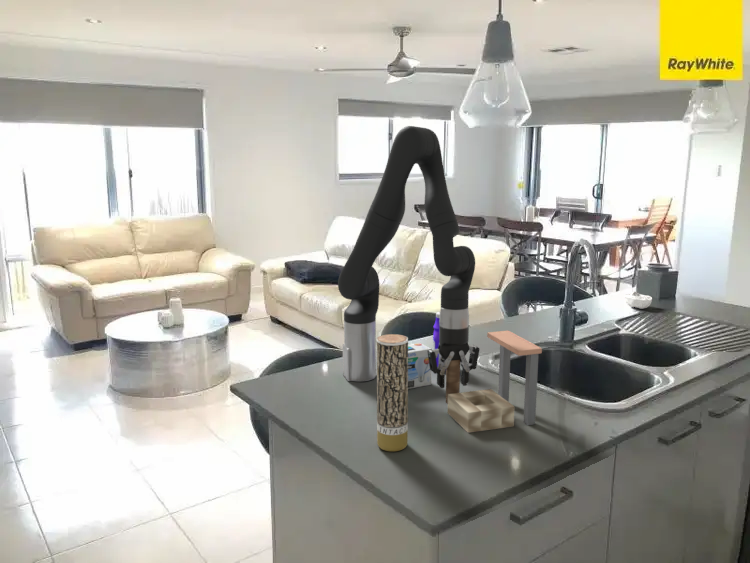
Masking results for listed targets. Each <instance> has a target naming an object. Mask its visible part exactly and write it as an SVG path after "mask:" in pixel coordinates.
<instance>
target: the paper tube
mask: <svg viewBox="0 0 750 563" xmlns="http://www.w3.org/2000/svg"><path fill="white" fill-rule="evenodd" d="M408 345H409V337H408V336H406V335H403V334H397V333H393V334H392V333H391V334H383V335H379V336H376V430H377V432H376V433H377V434H376V436H377V437H376V438H377V441H376V444H377V446H378V448H379V449H381V450H383V451H386V452H391V453H392V452H399V451H402V450H404V449H405V448H406V447H407V446H408V437H409V436H408V430H409V429H408V428H409V426H408V424H409V423H408V422H409V420H408V419H409V414H408V413H409V412H408V410H409V407H408V406H409V389H408Z"/></svg>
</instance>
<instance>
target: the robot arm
mask: <svg viewBox="0 0 750 563" xmlns="http://www.w3.org/2000/svg"><path fill="white" fill-rule="evenodd" d="M443 162H444V161H443V157H442V151H441V145H440V141H439V138H438V136H437V134H436V133H435V132H434V130H432V129H429V128H426V127H420V126H414V125H413V126H412V125H407V126H404V127H402V128H401V129H400V130H399V131H398V132H397V133H396V135H395V138H394V140H393V142H392V145H391V148H390V151H389V156H388V158H387V162H386V165H385V169H384V172H383V176H382V177H381V180H380V182H379V185H378V187H377V190H376V193H375V195H374V198H373V200H372V202H371V205H370V206H369V210H368V211H367V214H366V216H365V219H364V223H363V224H362V227H361V229H360V232H359V235H358V236H357V239H356V242H355V245H354V247H353V248H352V251H351V252H350V255H349V256H348V258H347V260H346V262H345V263H344V266H343V267H342V269H341V271H340V272H339V276H338V279H337V287H338V290H339V294H340V295H341V297H343V298H345V299H347V300H349V301H350V300H351V301H350V303H349V305H348V306H347V307H346V308H345V309H344V312H343V333H344V334H343V337H344V338H343V339H344V341H343V343H342V375H343V377H344V378H345V380H346V381H347V382H368V381H371V380H374V379H375V378H377V335H376V334H377V331H376V329H377V322H376V321H377V319H376V318H377V313H378V310H379V302H380V279H379V274H378V272H377V269H375V268H374V267H373V265H374V263H375V261H376V260H377V258H378V257H379V255H381V253H382V252H383V251H384V250H385V249H386V248H387V246H388V245H389V244H390V243H391V241H392V240H393V239H394V237H395V235H396V234H397V233H398V230H399V228H400V225H401V223H402V220H403V218H404V215H405V212H406V185H407V181H408V178H409V176H410V174H411V171H412V170H413V168H414V166H415V165H416V164H417V165H418V167H419V169H420V171H421V174H422V176H423V182H424V189H425V190H424V211H425V212H424V213H425V217H426V219H427V223H428V225H429V226H428V227H429V229H430V232H431V235H432V250H433V262H434V266H435V267H436V269H437V271H438V272H439V273H440V274H441V275H442V276H445V277H450V278H449V280H448V281H447V283H445V284H444V285H442V287H441V290H440V311H439V312H440V319H439V347H438V349H434V350H433V349H432V348H431V349H432V350H431V349H429V350H428V351H427V352H428V359H429V366H430V370H431V373H433V374H436V384H437V386H438V387H439V388H440V389H445V387H446V368H448V366H449V364H450V361H452V360H460V368H462V369H460V385H462V386H465V387H466V386H468V384H469V382H470V371H471V370H476V369H477V365H478V361H479V355H480V354H479V353H480V347H478V346H477V345H476V344H472V345H470V344H469V336H470V334H469V332H470V330H469V329H470V314H469V291H470V289H471V285H472V281H473V278H474V273H475V269H476V257H475V255H474V252H473V250H472V249H471V248H470V247H468V246H466V245H458V246H454V245H455V244H454V238H455V237H457V235H459V233H460V227H459V223H458V219H457V217H456V214H455V211H454V207H453V205H452V202H451V197H450V194H449V191H448V190H449V189H448V185H447V181H446V174H445V168H444V163H443ZM438 353H439V354H440V355H441V358H440V360H439V365H438V367H437V362H436V358H437V356H438ZM468 353H469V359H468V360H467V358H466V356H467V354H468Z"/></svg>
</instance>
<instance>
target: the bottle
mask: <svg viewBox="0 0 750 563" xmlns="http://www.w3.org/2000/svg"><path fill="white" fill-rule="evenodd" d="M439 319H440V311H437V312H436V313H435V322H434V325H433V329H434V330H433V336H432V340H433V341H432V343H433V345H432V346H433V347H432V350H434V349H438V347H439ZM440 358H441V355H440V354H439V353H438V356H437V358H436V362H437V367H438V365H439V360H440Z"/></svg>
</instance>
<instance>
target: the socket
mask: <svg viewBox="0 0 750 563" xmlns="http://www.w3.org/2000/svg"><path fill="white" fill-rule="evenodd" d="M447 415H449V416H450V417H451V418H452V419H453V420H454V421H455V422H456V423H457V424H459V426H460V427H461V428H463V430H465V431H466V432H467V433H475V432H482V431H489V430H496V429H497V430H498V429H504V428H511V427H514V426H515V406H514V405H513V404H512V403H511V402H508V401H506V400H505V399H504V398H502V397H501V396H500V395H498V393H497V392H496V391H495V390H493V388H490V389H489V388H488V389H479V390H472V391H471V390H470V391H464V392H460V393H454V394H448V404H447Z"/></svg>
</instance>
